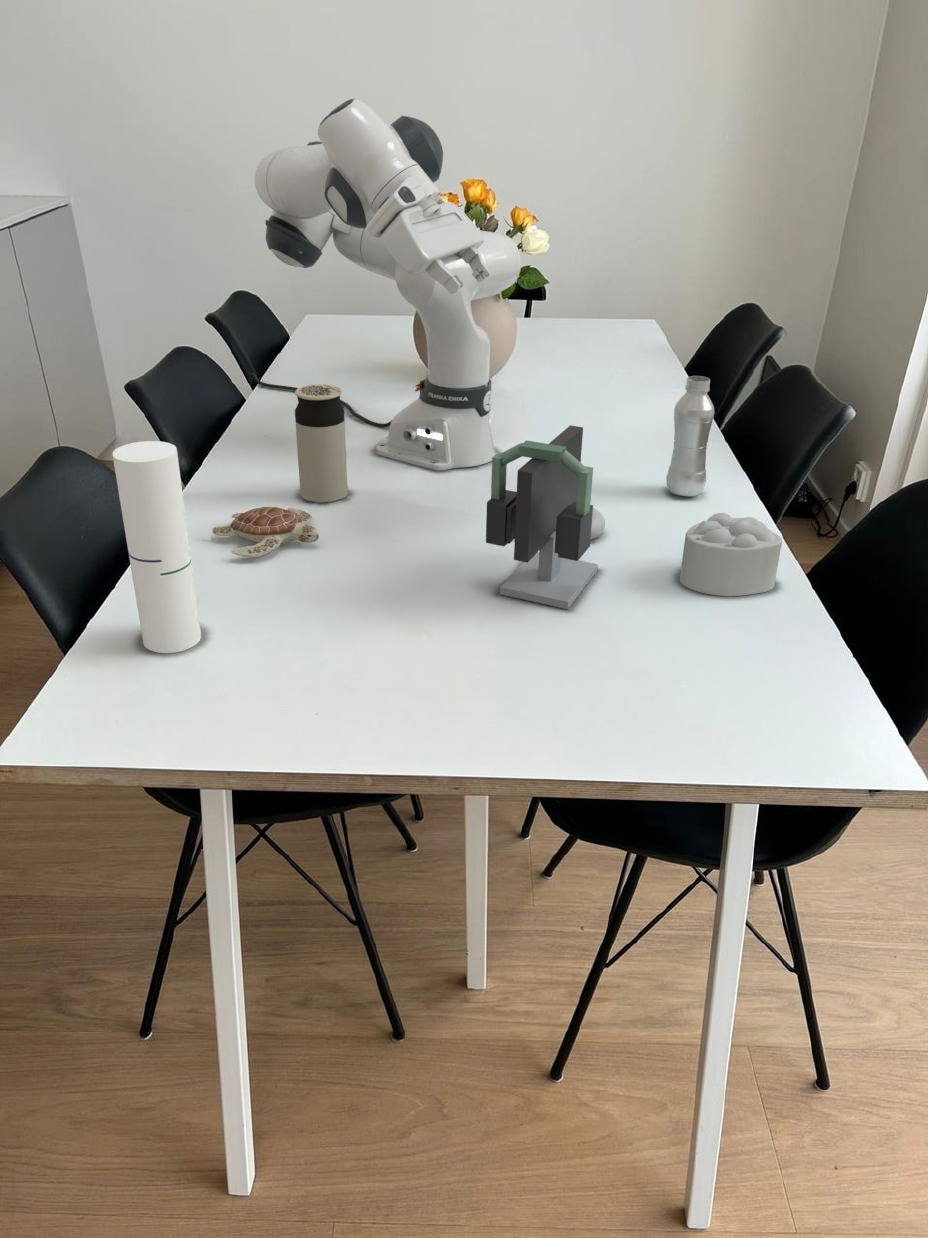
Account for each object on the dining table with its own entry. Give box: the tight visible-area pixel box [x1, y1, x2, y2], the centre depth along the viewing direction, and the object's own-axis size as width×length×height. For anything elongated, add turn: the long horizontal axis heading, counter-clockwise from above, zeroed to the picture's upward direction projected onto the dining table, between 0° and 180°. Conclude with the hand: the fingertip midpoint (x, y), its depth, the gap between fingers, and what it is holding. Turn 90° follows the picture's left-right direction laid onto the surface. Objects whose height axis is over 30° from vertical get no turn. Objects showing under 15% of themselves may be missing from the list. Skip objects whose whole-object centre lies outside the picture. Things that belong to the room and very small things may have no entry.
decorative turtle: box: [211, 506, 320, 558], centre depth 155 cm, size 18×17×5 cm
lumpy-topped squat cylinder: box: [679, 512, 783, 597], centre depth 144 cm, size 10×13×9 cm
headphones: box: [485, 440, 594, 561], centre depth 134 cm, size 13×5×14 cm, turn 66°
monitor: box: [499, 424, 599, 610], centre depth 139 cm, size 10×20×20 cm, turn 156°
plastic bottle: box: [665, 375, 715, 497], centre depth 170 cm, size 6×7×20 cm
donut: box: [590, 507, 606, 541], centre depth 159 cm, size 10×4×10 cm
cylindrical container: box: [111, 440, 202, 654], centre depth 123 cm, size 7×7×25 cm
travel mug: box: [294, 383, 349, 504], centre depth 167 cm, size 8×8×18 cm
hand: (472, 284), depth 142 cm, fingers open, 8 cm apart
